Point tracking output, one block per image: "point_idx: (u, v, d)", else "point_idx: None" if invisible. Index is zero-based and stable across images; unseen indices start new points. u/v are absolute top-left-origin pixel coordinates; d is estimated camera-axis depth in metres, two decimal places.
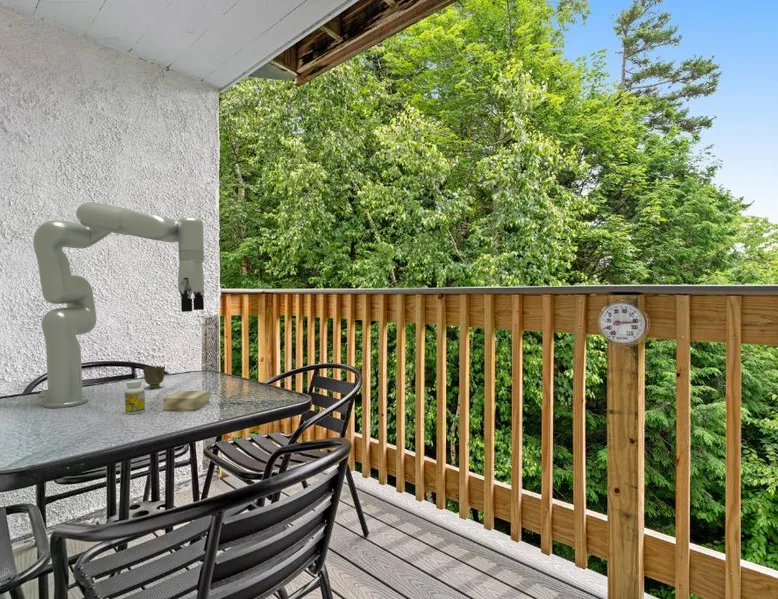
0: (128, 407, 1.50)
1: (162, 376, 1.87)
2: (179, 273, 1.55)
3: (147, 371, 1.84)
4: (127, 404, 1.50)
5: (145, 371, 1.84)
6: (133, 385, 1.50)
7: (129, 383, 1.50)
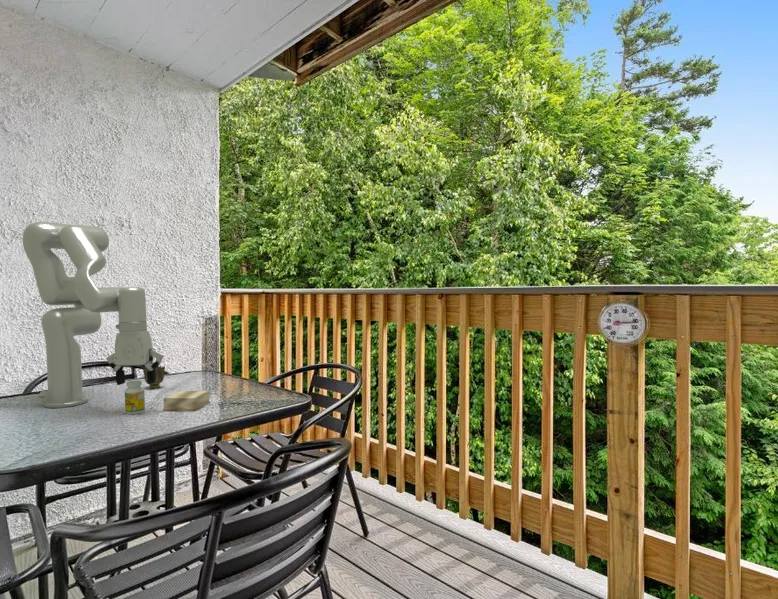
0: (128, 407, 1.50)
1: (162, 376, 1.87)
2: (145, 345, 1.49)
3: None
4: (127, 404, 1.50)
5: (145, 371, 1.84)
6: (133, 385, 1.50)
7: (129, 383, 1.50)
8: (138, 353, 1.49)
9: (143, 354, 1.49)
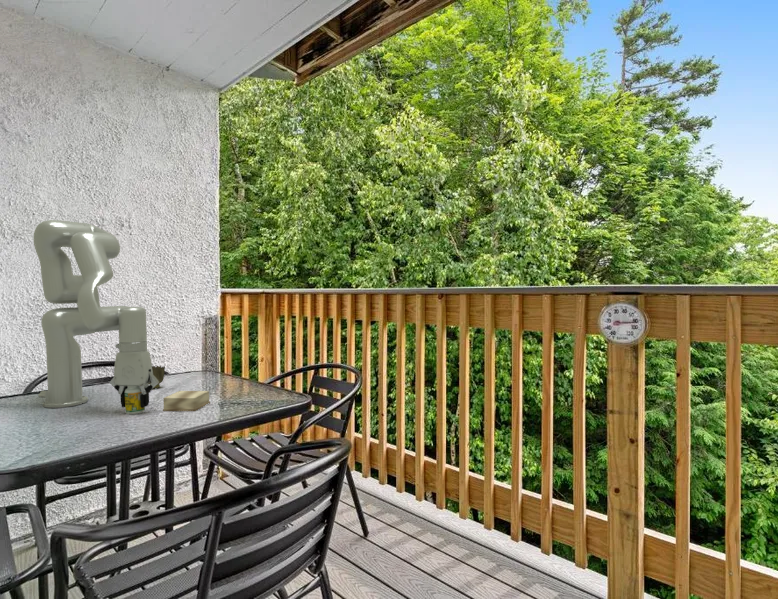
0: (128, 407, 1.50)
1: (162, 376, 1.87)
2: (145, 365, 1.50)
3: None
4: (127, 404, 1.50)
5: None
6: None
7: None
8: (137, 373, 1.49)
9: (142, 375, 1.49)
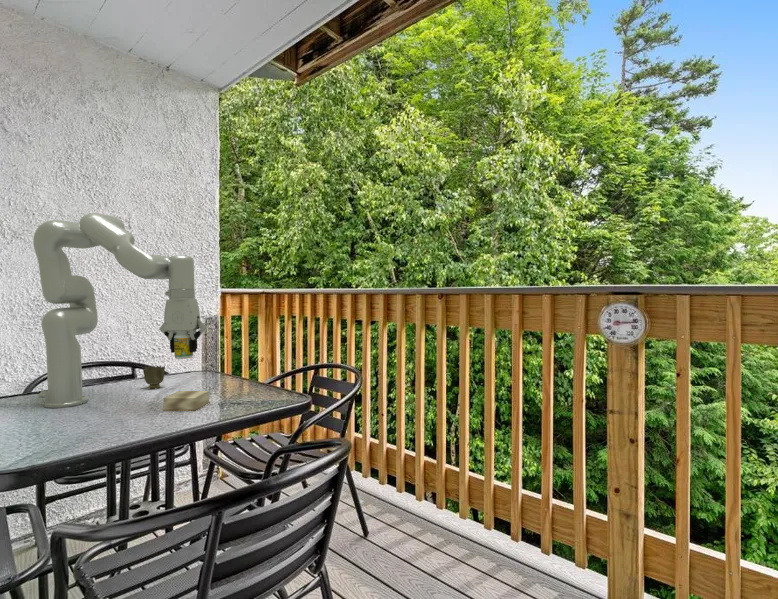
0: (177, 351, 1.55)
1: (162, 376, 1.87)
2: (194, 311, 1.55)
3: (147, 371, 1.84)
4: (177, 349, 1.55)
5: (145, 371, 1.84)
6: (182, 331, 1.56)
7: None
8: (187, 319, 1.54)
9: (192, 320, 1.54)
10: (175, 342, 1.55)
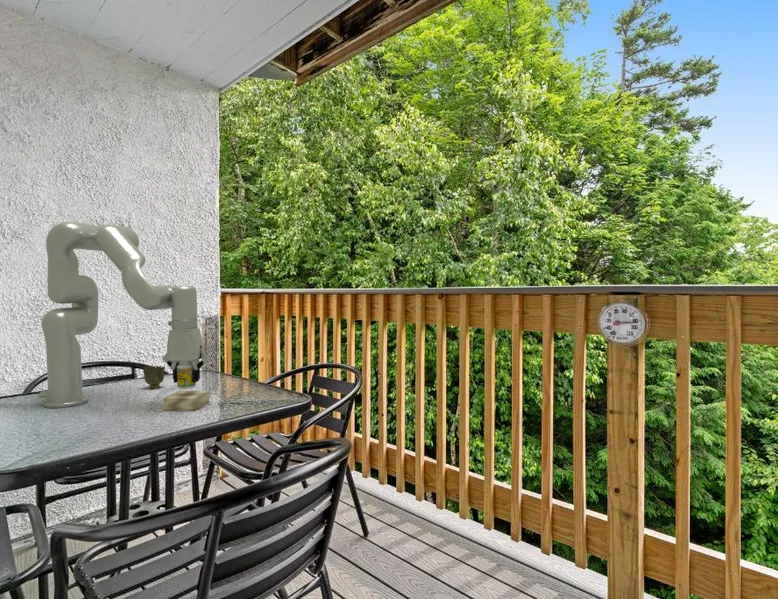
0: (180, 382, 1.56)
1: (162, 376, 1.87)
2: (197, 342, 1.56)
3: (147, 371, 1.84)
4: (179, 379, 1.56)
5: (145, 371, 1.84)
6: None
7: None
8: (190, 350, 1.55)
9: (195, 351, 1.55)
10: (178, 372, 1.56)
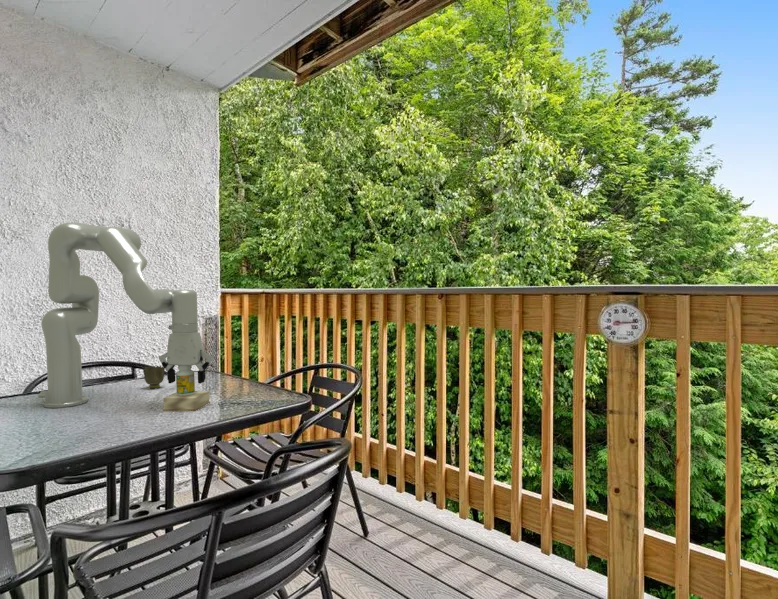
0: (180, 389, 1.56)
1: (162, 376, 1.87)
2: (197, 346, 1.56)
3: (147, 371, 1.84)
4: (179, 386, 1.56)
5: (145, 371, 1.84)
6: (184, 368, 1.56)
7: (180, 366, 1.56)
8: (190, 354, 1.55)
9: (195, 355, 1.55)
10: (177, 379, 1.56)
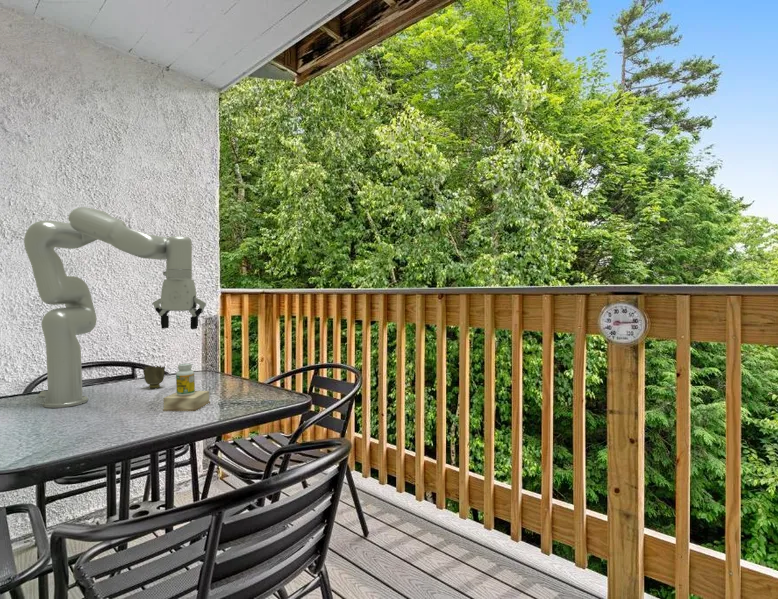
0: (180, 389, 1.56)
1: (162, 376, 1.87)
2: (190, 292, 1.57)
3: (147, 371, 1.84)
4: (179, 386, 1.56)
5: (145, 371, 1.84)
6: (184, 368, 1.56)
7: (180, 366, 1.56)
8: (183, 299, 1.57)
9: (188, 300, 1.57)
10: (177, 379, 1.56)
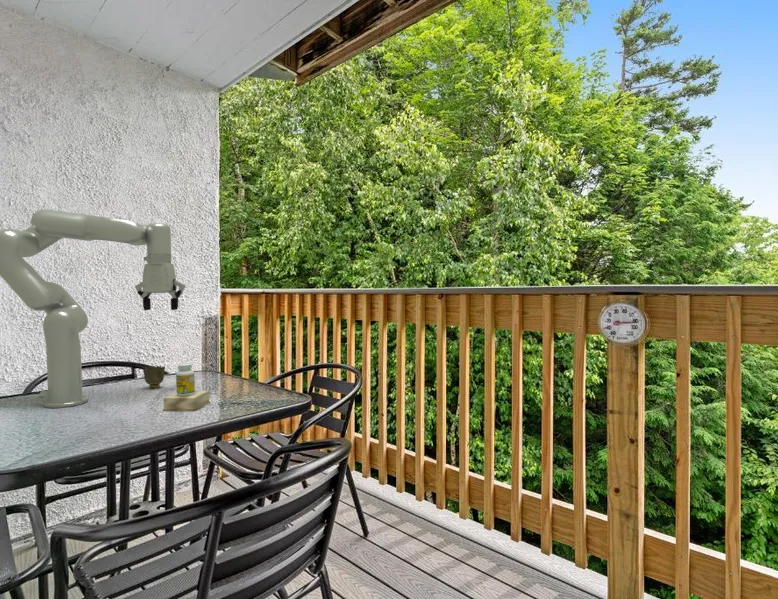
0: (180, 389, 1.56)
1: (162, 376, 1.87)
2: (170, 275, 1.69)
3: (147, 371, 1.84)
4: (179, 386, 1.56)
5: (145, 371, 1.84)
6: (184, 368, 1.56)
7: (181, 366, 1.56)
8: (163, 282, 1.68)
9: (168, 283, 1.68)
10: (177, 379, 1.56)
